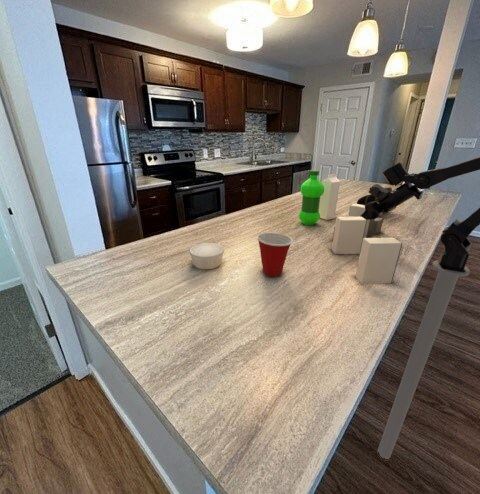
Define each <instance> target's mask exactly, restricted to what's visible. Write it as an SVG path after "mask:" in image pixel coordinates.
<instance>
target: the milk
mask: <svg viewBox="0 0 480 494" xmlns="http://www.w3.org/2000/svg"><path fill="white" fill-rule="evenodd" d="M321 183H322V184H323V185H324V193H323V195H321V196H320V203H319V214H320V219H323V220H324V221H325V220H326V221H329V220H333V219H335V218H336V211H337V204H338V199H339V191H340V185H341V180H340V179H338V177H337V173H331V174H327V178H325V179H323V180H322V181H321Z"/></svg>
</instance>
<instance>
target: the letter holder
mask: <svg viewBox="0 0 480 494" xmlns="http://www.w3.org/2000/svg"><path fill="white" fill-rule="evenodd" d="M384 188H385V189H386V190H387V191H389V192H390V191H392V190H393V188H392V187H384ZM376 199H378V198H377V197H375V196H374V195H372V194H370V193H369V194H366V195H363V196H362V197H359V198H358V199H357V200H356V204H360V205H366V204H368V203H370V202H372V201H374V202H377V204H378V201H377V200H376Z"/></svg>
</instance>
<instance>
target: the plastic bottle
mask: <svg viewBox="0 0 480 494" xmlns="http://www.w3.org/2000/svg"><path fill="white" fill-rule="evenodd" d="M308 175H309V178H308V179H307V180H305V181H304V182H303V183H301V186H300V193H301V195H302V199H301V209H300V211H299V212H298V218H299V221H300V222H301V223H302V224H303V225H305V226H314V225H315V224H316V223H318V222H319V221H320V219H321V218H320V214H319V204H320V196H321V195H323V193H324V185H323V184H322V181H320V179H318V176H319V175H320V170H317V169H310V170H309V171H308Z"/></svg>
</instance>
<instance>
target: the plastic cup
mask: <svg viewBox="0 0 480 494" xmlns="http://www.w3.org/2000/svg"><path fill="white" fill-rule="evenodd" d="M256 238H257V240H258V245H259V252H260V260H261V266H262V271H263V274H264V275H266V276H268V277H279V276H281V274H282V272H283V270H284V265H285V262H286V259H287V255H288V252H289V249H290V247H291V245H292V244H293V243H294V240H293V238H292V237H291V236H289V235H286V234H284V233H279V232H269V231H268V232H262V233H259V234H257V235H256Z"/></svg>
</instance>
